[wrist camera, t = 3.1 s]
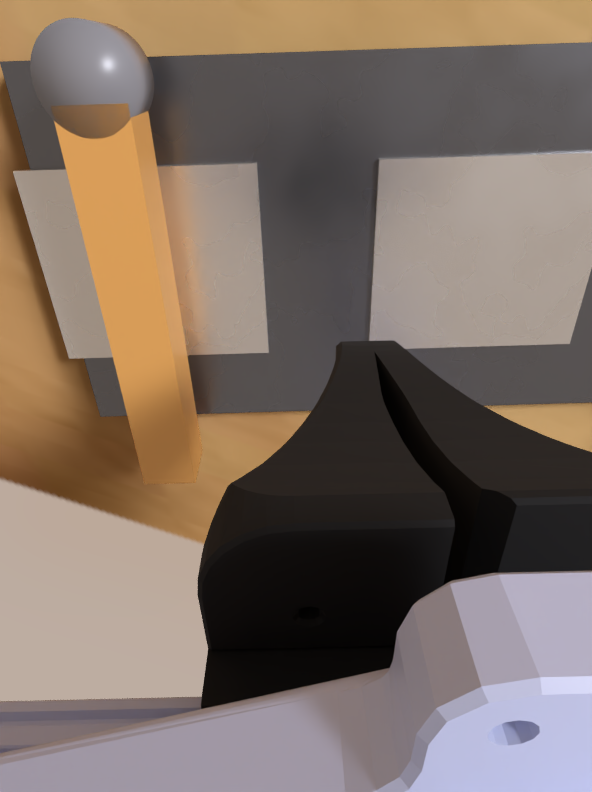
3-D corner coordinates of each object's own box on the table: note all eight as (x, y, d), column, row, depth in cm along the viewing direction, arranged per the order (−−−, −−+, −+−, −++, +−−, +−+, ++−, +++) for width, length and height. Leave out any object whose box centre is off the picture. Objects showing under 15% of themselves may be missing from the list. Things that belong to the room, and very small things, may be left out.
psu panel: (638, 385, 24) (669, 415, 22) (97, 401, 24) (80, 432, 22) (778, 24, 16) (844, 21, 14) (-2, 50, 16) (-41, 49, 15)
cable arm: (48, 24, 14) (16, 19, 12) (144, 21, 14) (125, 16, 12) (148, 452, 22) (136, 484, 20) (209, 450, 22) (203, 482, 20)
